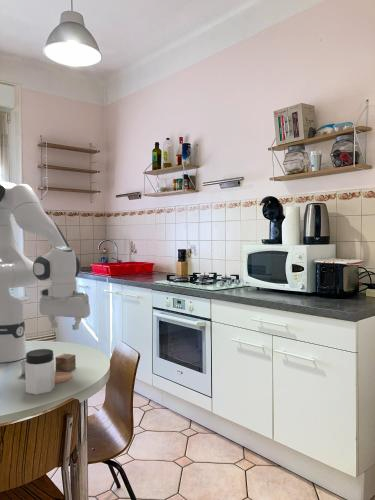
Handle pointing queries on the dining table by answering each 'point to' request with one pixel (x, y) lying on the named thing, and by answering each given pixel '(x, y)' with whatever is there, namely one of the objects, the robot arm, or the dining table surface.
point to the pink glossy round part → (62, 377)
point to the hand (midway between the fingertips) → (64, 328)
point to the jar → (39, 371)
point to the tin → (23, 367)
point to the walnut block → (65, 362)
